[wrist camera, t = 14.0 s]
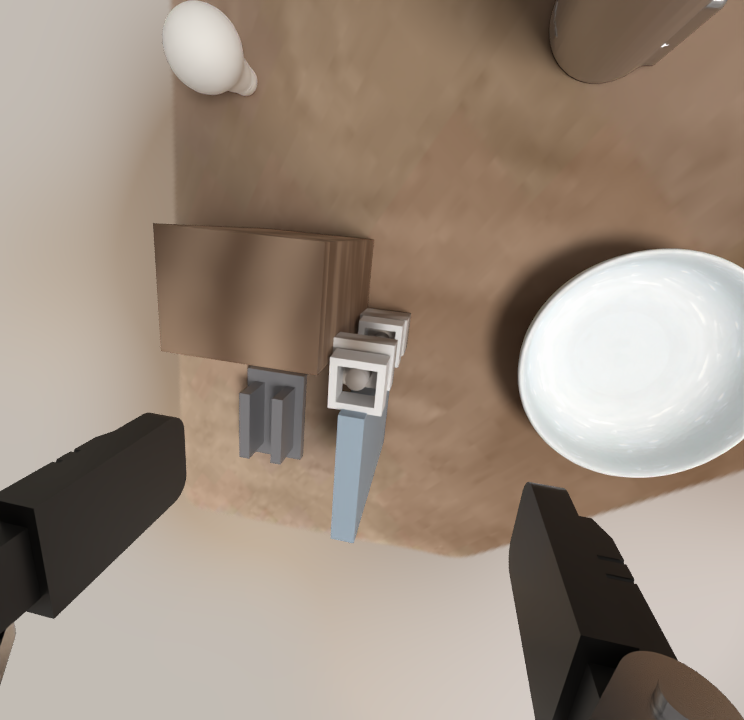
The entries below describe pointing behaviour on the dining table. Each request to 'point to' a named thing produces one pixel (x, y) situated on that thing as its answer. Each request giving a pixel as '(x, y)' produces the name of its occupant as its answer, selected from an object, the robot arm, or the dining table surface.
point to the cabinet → (269, 298)
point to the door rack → (272, 414)
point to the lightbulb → (206, 50)
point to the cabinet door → (358, 427)
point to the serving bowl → (639, 363)
